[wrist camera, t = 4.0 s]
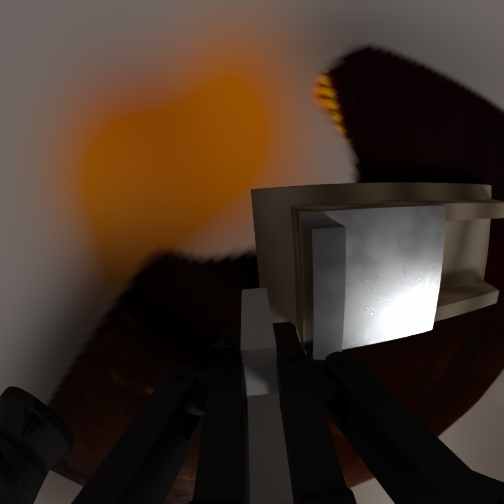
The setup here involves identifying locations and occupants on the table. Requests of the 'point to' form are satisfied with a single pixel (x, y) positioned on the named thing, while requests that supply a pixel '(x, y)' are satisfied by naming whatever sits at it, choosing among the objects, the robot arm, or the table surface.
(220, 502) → the robot arm
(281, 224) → the holder
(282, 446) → the travel mug
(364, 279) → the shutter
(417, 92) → the table surface
